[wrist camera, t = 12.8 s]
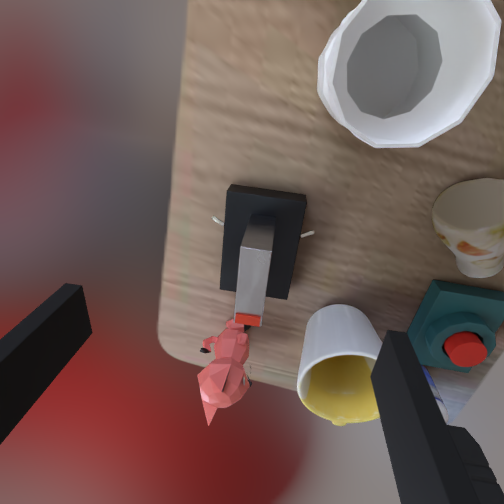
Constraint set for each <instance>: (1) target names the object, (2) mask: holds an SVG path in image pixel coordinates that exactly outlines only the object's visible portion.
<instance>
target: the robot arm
mask: <svg viewBox="0 0 504 504" xmlns="http://www.w3.org/2000/svg"><path fill="white" fill-rule="evenodd" d="M91 334H92V329H91V324H90V320H89V315H88V311H87V306H86V301H85V297H84V292H83V288H82V286H81V285H75V284H67V283H66V284H64V285H63V286H62V287H61V288H60V289H59V290H57V291H56V292H55V293H54V294H53V295H51V296H50V297H49V298H48V299H47V300H46V301H44V302H43V303H42V304H41V305H40V306H39V307H38V308H36V309H35V310H34V311H33V312H32V313H31V314H29V315H28V316H27V317H26V318H25V319H23V320H22V321H21V322H20V323H19V324H18V325H17V326H15V327H14V328H13V329H12V330H11V331H10V332H8V333H7V334H6V335H5V336H4V337H3V338H1V339H0V444H1V443H2V442H3V441H4V440H5V438H6V437H7V436H8V435H9V434H10V432H11V431H12V430H13V429H14V427H15V426H16V425H17V424H18V423H19V421H20V420H21V419H22V418H23V416H24V415H25V414H26V413H27V412H28V410H29V409H30V408H31V407H32V406H33V404H34V403H35V402H36V401H37V399H38V398H39V397H40V396H41V395H42V393H43V392H44V391H45V390H46V389H47V387H48V386H49V385H50V384H51V382H52V381H53V380H54V379H55V378H56V376H57V375H58V374H59V373H60V371H61V370H62V369H63V368H64V367H65V365H66V364H67V363H68V362H69V361H70V359H71V358H72V357H73V356H74V355H75V353H76V352H77V351H78V350H79V348H80V347H81V346H82V345H83V344H84V342H85V341H86V340H87V339H88V338H89V336H90V335H91ZM370 378H371V382H372V386H373V390H374V394H375V398H376V402H377V407H378V411H379V415H380V419H381V423H382V427H383V431H384V435H385V439H386V443H387V448H388V452H389V455H390V459H391V464H392V468H393V472H394V476H395V480H396V484H397V489H398V493H399V497H400V501H401V504H504V493H503V492H502V489H501V488H500V485H499V484H497V482H496V477H495V475H494V473H493V471H492V469H491V468H489V463H488V461H487V459H486V457H485V456H484V453H483V451H482V449H481V448H480V445H479V444H478V443H477V442H476V441H475V439H474V438H473V437H472V436H471V435H470V434H469V432H468V431H467V430H466V429H465V428H462V427H456V426H450V425H447V424H446V422H445V420H444V418H443V415H442V413H441V411H440V408H439V406H438V404H437V401H436V399H435V397H434V394H433V392H432V390H431V387H430V385H429V383H428V381H427V378H426V376H425V374H424V371H423V369H422V367H421V364H420V362H419V360H418V357H417V355H416V353H415V350H414V348H413V346H412V344H411V341H410V339H409V337H408V334H407V333H404V332H397V331H390V330H387V333H386V336H385V338H384V341H383V344H382V346H381V349H380V352H379V354H378V357H377V360H376V362H375V365H374V368H373V370H372V373H371V376H370Z"/></svg>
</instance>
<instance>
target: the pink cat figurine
mask: <svg viewBox="0 0 504 504" xmlns="http://www.w3.org/2000/svg"><path fill="white" fill-rule="evenodd" d="M226 326H227V328H228V329H225V330H224V331H223V332H222V333H221V334H220V335H219V336H218V337H214V336H211V337H209V338H207V339H205V340H203V348H201V350H200V352H203V353H209V352H211V349H210V345H209V344H210V343H212V342H214V343H215V345H214V349H215V356H216V359H215V360H214V361H212V362H211V363H210V364H209V365H208V366H207V367H206V368H205V369H203V370H202V371H201V372H200V373H199V374H198V380H199V385H200V391H201V397H202V402H203V406H204V409H205V414H206V418H207V422H208V425H209V424H210V422H211V420H212V418H213V416H214V414H215V411H216V409H217V408H226V407H228V406H231V405H232V404H234V403H235V402H237V401H238V400H240V399H241V398H242V397H243V395H244V394H245V392H246V390H247V389H248V387H249V384H250V386H251V385H252V382H250V379H249V377H248V379H249V380H248V379H247V377H246V374H245V371H244V368H243V364H244V363H245V361H246V360H247V358H248V357H249V338H248V334H245V333H243V332H245V331H246V330H248V329H249V328H250V327H251V325H245V324H238V323H234V319H232V320H229V321H227V322H226ZM249 365H250V364H249ZM250 368H251V367H250ZM250 373H251V372H250ZM247 376H248V375H247ZM248 381H249V383H248Z"/></svg>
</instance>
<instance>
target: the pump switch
mask: <svg viewBox="0 0 504 504" xmlns="http://www.w3.org/2000/svg"><path fill="white" fill-rule="evenodd" d="M503 321H504V292H502V291H496V290H490V289H484V288H479V287H473V286H467V285H461V284H456V283H450V282H444V281H438V280H433V281H432V283H431V285H430V287H429V289H428V291H427V293H426V295H425V297H424V299H423V301H422V303H421V305H420V307H419V309H418V311H417V313H416V315H415V317H414V319H413V321H412V323H411V325H410V327H409V329H408V331H407V334H408V337H409V339H410V341H411V344H412V346H413V348H414V350H415V353H416V355H417V357H418V360H419V362H420V364H421V365H426V366H432V367H437V368H443V369H448V370H453V371H459V372H464V373H469V371H470V370H471V368H472V367H473V366H471V367H461V366H457V365H455V364H454V363H453V362H452V361H451V359H450V357H449V356H448V354H447V352H446V351H445V349H444V342H445V340H446V339H447V338H448V337H450V336H451V335H453V334H454V333H458V332H463V331H468V332H472V333H474V334H476V335H477V336H478V338H479V339H480V340H481V342H482V343H483V344H484V346H485V347H486V349H487V356H486V358H487V357H488V356H489V355H490V354H491V352H492V351H493V349H494V348H495V346H496V340H495V333H496V331H497V330H498V328H499V327H500V325H501V324H502V322H503Z"/></svg>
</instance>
